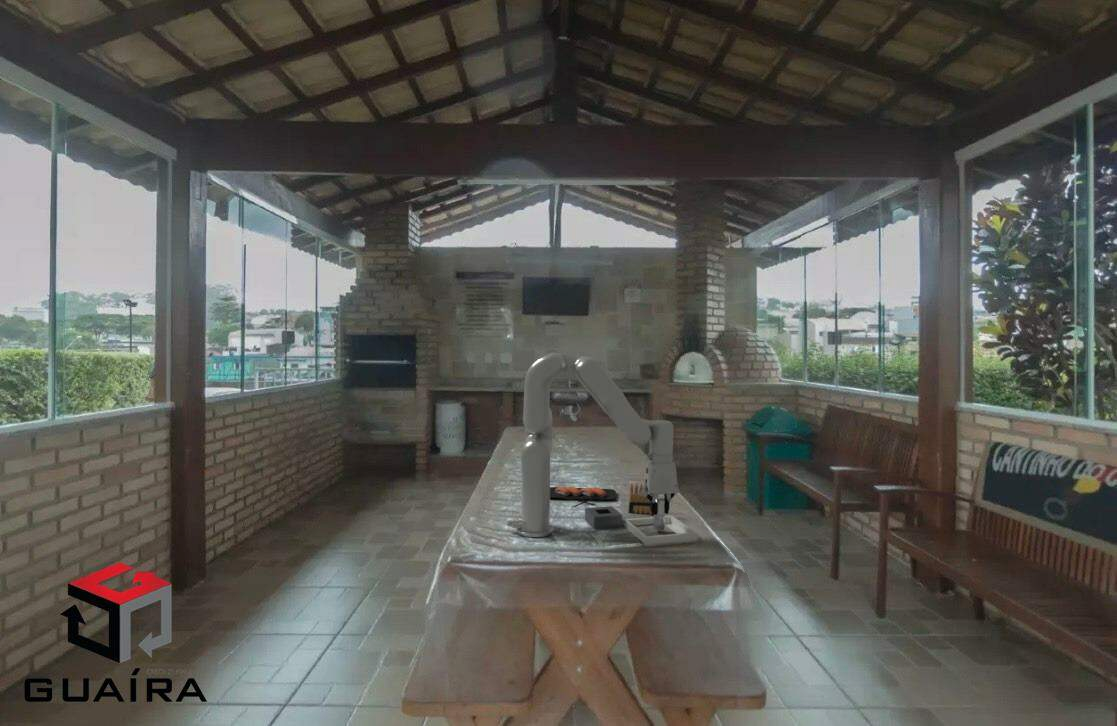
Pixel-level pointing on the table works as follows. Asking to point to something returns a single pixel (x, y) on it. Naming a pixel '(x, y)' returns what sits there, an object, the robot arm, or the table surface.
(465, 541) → the table surface
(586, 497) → the sushi plate
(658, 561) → the table surface
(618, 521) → the pin block
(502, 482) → the table surface
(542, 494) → the robot arm
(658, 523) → the pin
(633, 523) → the tray
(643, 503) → the ammunition clip
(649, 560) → the table surface
